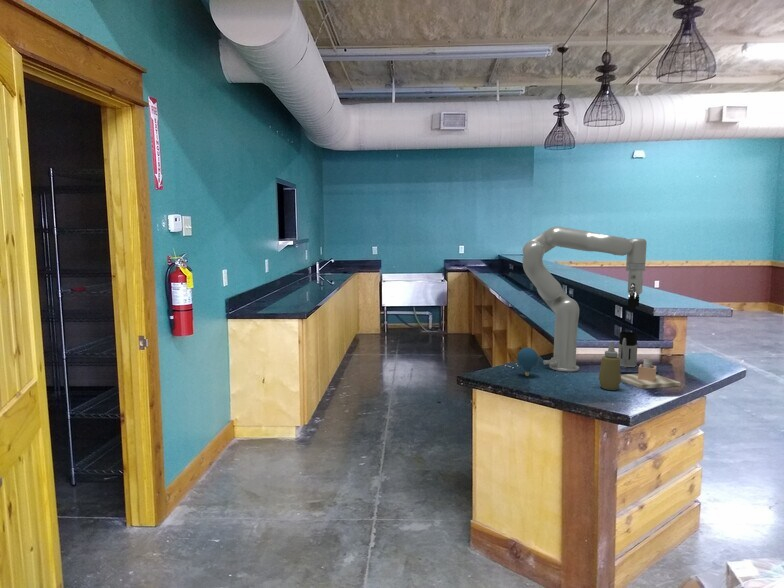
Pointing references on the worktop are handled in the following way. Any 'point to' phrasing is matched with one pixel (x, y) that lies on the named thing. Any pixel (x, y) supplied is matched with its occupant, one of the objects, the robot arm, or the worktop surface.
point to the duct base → (644, 384)
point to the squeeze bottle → (610, 369)
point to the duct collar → (647, 373)
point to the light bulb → (527, 359)
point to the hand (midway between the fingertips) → (633, 306)
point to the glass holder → (628, 349)
